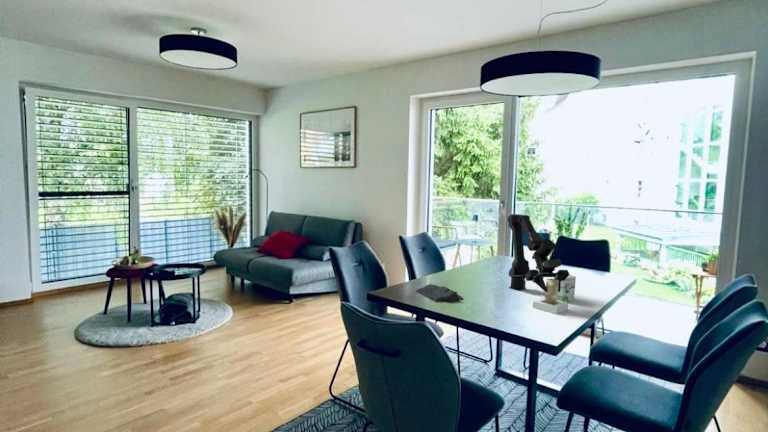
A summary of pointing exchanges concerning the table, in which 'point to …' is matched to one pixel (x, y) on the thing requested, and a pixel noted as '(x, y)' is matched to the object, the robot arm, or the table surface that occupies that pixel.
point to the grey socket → (550, 306)
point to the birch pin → (551, 291)
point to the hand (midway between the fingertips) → (552, 291)
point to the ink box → (567, 289)
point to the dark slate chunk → (439, 293)
